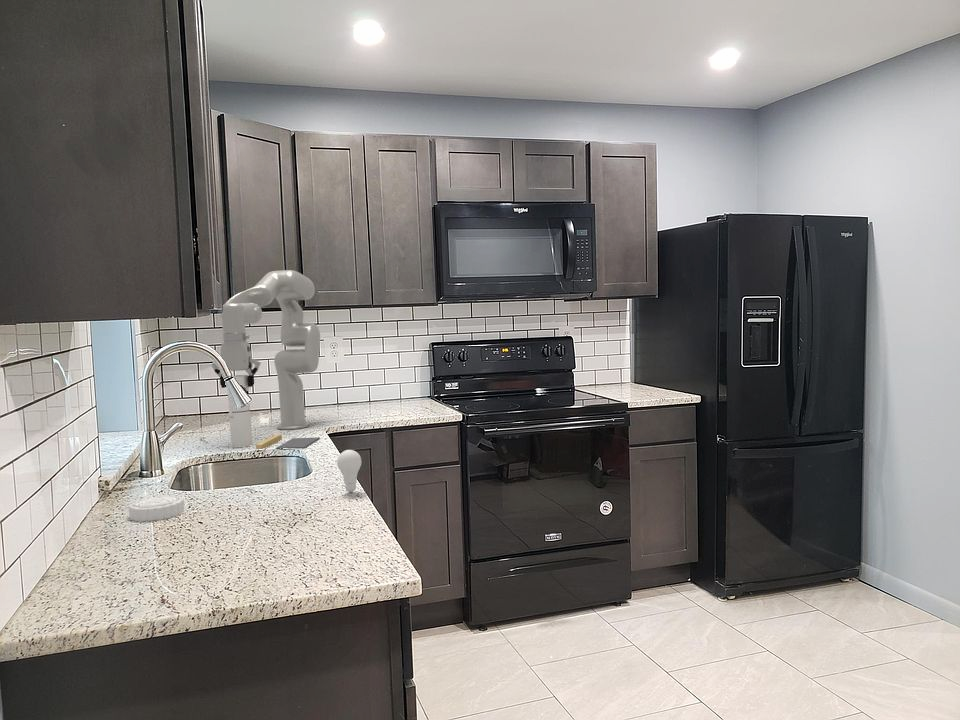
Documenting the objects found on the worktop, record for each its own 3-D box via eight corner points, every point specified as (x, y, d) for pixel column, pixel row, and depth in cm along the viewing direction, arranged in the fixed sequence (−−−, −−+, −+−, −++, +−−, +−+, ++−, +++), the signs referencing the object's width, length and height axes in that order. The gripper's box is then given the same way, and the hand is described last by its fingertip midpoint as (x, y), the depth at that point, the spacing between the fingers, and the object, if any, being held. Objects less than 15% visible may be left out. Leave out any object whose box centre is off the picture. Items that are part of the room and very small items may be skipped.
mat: (293, 439, 267) (292, 438, 267) (319, 439, 266) (319, 437, 266) (275, 449, 249) (275, 447, 249) (304, 448, 248) (304, 447, 248)
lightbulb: (335, 495, 183) (332, 452, 182) (343, 489, 189) (340, 447, 188) (359, 495, 182) (356, 452, 181) (366, 489, 188) (363, 447, 187)
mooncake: (121, 516, 173) (120, 501, 173) (171, 505, 182) (170, 491, 181) (141, 525, 165) (140, 509, 164) (193, 513, 173) (192, 498, 173)
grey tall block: (246, 447, 255) (241, 376, 253) (227, 447, 256) (222, 377, 254) (256, 443, 262) (251, 374, 260) (238, 444, 263) (233, 375, 261)
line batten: (276, 439, 268) (276, 434, 268) (281, 439, 268) (281, 434, 268) (256, 450, 248) (255, 445, 248) (261, 450, 248) (261, 444, 248)
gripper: (262, 337, 259) (265, 385, 260) (215, 339, 260) (218, 386, 261) (254, 338, 252) (257, 387, 253) (206, 339, 253) (209, 388, 254)
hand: (237, 387), depth 257 cm, fingers open, 9 cm apart
